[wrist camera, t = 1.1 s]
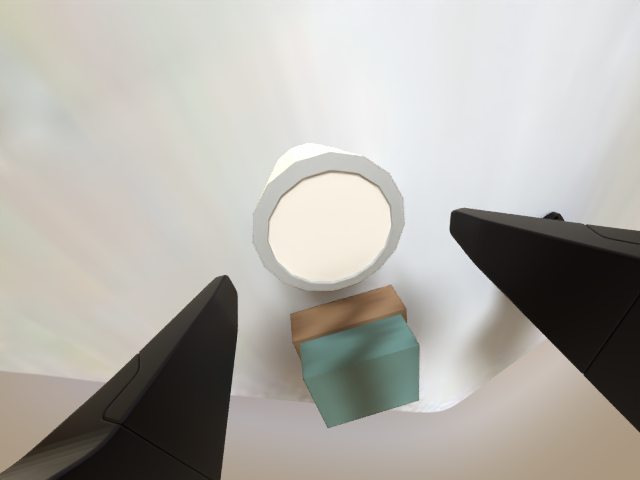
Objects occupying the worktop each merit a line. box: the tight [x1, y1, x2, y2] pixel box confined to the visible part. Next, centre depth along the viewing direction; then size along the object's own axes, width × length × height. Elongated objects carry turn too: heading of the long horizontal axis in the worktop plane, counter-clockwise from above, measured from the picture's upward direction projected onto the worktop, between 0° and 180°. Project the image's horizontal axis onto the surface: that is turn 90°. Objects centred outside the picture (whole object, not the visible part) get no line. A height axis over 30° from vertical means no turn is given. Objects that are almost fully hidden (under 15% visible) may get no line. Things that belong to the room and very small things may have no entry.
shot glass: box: [253, 143, 405, 291], centre depth 13 cm, size 7×7×7 cm
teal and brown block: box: [290, 285, 419, 428], centre depth 22 cm, size 10×10×6 cm
